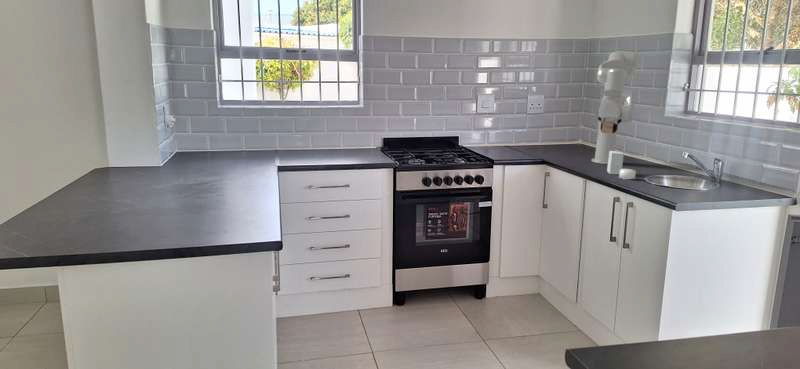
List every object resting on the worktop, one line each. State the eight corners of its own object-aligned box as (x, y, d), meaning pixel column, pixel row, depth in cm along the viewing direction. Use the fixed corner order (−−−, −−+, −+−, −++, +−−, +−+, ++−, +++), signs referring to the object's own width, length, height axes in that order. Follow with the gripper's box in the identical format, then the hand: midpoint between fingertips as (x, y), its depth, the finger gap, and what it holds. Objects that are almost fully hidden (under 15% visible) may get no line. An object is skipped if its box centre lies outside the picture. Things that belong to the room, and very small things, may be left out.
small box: (621, 175, 274) (624, 153, 271) (609, 174, 275) (612, 152, 272) (618, 172, 281) (621, 151, 279) (606, 171, 282) (609, 150, 280)
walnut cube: (604, 131, 282) (605, 122, 281) (614, 133, 279) (616, 122, 278) (601, 132, 278) (602, 122, 277) (611, 133, 275) (613, 123, 274)
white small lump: (620, 176, 271) (621, 168, 270) (635, 178, 268) (636, 169, 267) (617, 178, 265) (618, 170, 264) (633, 180, 262) (634, 172, 261)
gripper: (593, 93, 276) (588, 130, 280) (629, 95, 267) (624, 134, 270) (598, 93, 282) (593, 129, 286) (633, 95, 273) (628, 133, 276)
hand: (608, 131), depth 278 cm, fingers closed on walnut cube, 5 cm apart
